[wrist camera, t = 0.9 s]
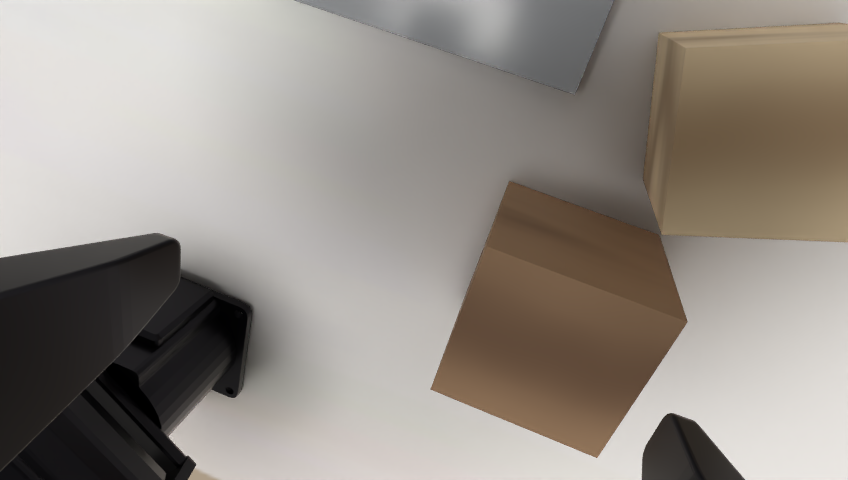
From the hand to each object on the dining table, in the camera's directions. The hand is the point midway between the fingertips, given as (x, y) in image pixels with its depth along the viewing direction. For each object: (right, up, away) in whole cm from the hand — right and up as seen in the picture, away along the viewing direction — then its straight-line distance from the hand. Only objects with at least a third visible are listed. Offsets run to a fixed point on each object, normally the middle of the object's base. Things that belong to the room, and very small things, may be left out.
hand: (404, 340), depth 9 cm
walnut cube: (+6, +1, +12) cm, 14 cm away
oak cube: (+11, +6, +8) cm, 15 cm away
